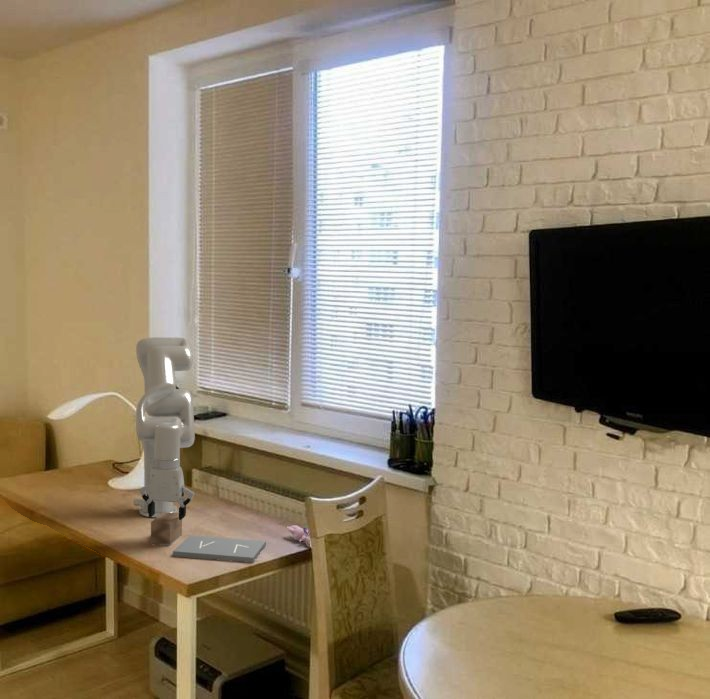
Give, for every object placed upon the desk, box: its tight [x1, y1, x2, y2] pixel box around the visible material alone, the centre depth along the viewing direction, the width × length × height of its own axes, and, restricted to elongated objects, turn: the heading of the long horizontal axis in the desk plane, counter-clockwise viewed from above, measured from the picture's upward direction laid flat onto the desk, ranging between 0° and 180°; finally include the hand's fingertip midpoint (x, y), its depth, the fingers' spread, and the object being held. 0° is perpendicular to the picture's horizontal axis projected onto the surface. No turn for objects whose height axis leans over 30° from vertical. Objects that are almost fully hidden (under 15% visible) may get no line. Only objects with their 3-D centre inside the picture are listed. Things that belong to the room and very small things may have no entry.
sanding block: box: [150, 512, 183, 547], centre depth 239 cm, size 6×10×7 cm, turn 172°
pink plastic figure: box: [285, 524, 311, 549], centre depth 240 cm, size 6×6×15 cm
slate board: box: [172, 535, 267, 563], centre depth 230 cm, size 24×14×2 cm, turn 82°
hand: (166, 517), depth 239 cm, fingers open, 9 cm apart
